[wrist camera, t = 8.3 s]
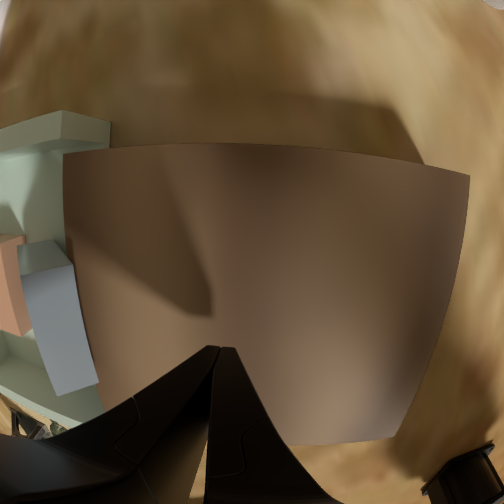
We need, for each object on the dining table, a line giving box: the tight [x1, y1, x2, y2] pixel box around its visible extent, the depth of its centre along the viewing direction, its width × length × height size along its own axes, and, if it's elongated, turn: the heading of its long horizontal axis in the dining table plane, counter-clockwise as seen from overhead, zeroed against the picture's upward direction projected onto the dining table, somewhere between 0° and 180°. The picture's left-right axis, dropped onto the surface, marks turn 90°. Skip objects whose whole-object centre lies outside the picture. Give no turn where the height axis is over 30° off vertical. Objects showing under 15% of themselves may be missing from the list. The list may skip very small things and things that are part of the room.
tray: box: [0, 110, 111, 428], centre depth 11 cm, size 12×15×4 cm
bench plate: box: [62, 143, 470, 445], centre depth 11 cm, size 14×12×3 cm
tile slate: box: [17, 239, 99, 397], centre depth 10 cm, size 5×5×2 cm
